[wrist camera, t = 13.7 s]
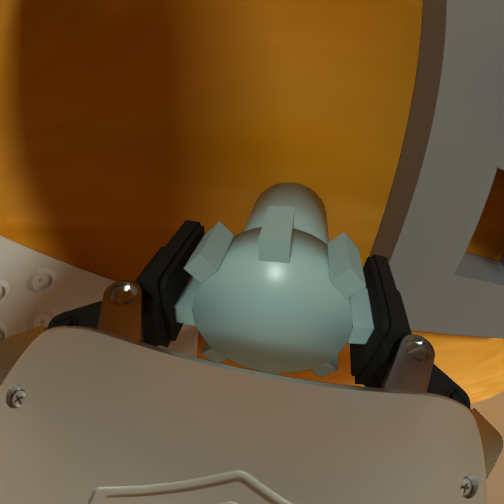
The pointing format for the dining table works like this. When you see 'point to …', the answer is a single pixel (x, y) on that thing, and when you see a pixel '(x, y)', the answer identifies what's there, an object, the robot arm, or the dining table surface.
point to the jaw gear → (277, 288)
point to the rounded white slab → (54, 293)
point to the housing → (449, 173)
